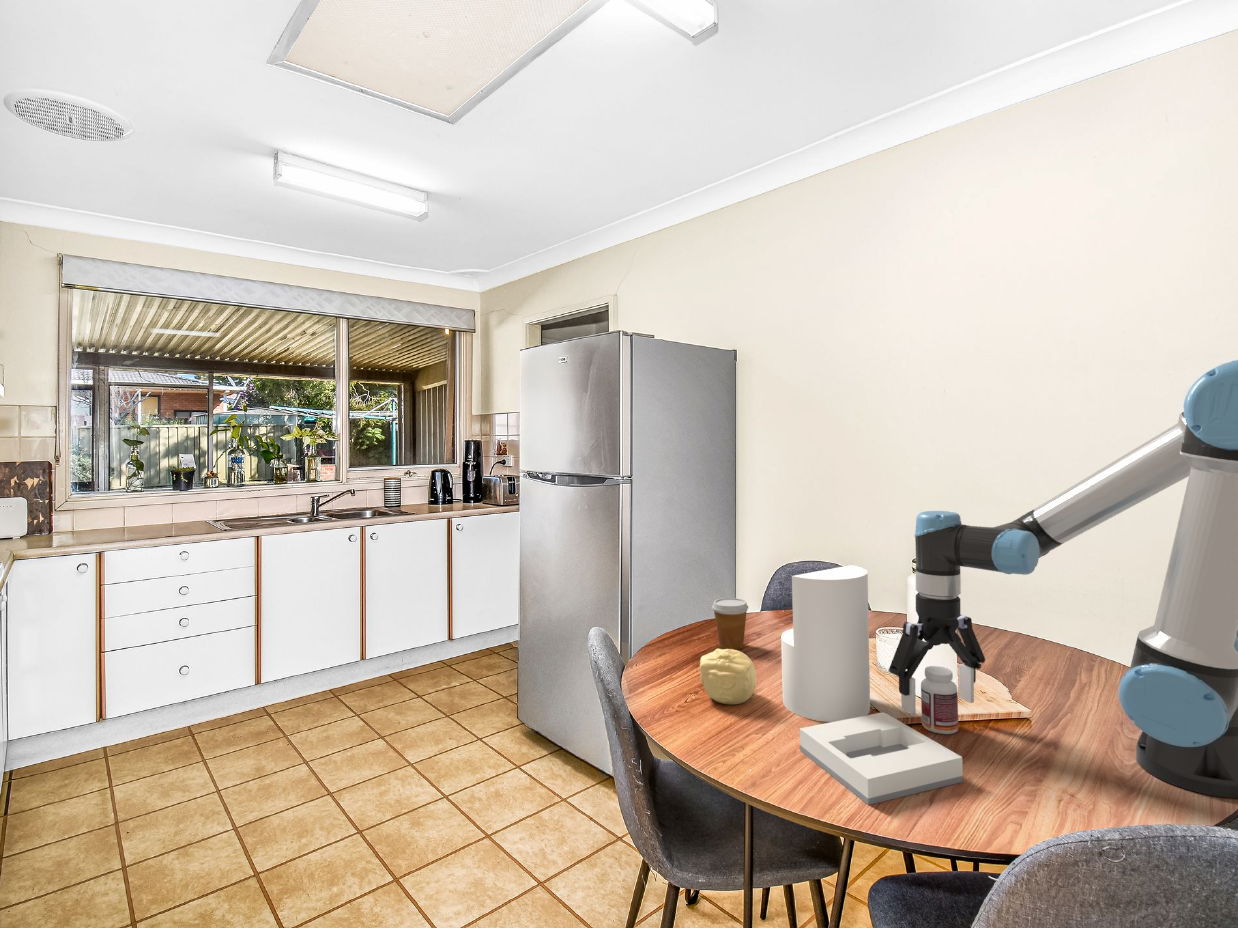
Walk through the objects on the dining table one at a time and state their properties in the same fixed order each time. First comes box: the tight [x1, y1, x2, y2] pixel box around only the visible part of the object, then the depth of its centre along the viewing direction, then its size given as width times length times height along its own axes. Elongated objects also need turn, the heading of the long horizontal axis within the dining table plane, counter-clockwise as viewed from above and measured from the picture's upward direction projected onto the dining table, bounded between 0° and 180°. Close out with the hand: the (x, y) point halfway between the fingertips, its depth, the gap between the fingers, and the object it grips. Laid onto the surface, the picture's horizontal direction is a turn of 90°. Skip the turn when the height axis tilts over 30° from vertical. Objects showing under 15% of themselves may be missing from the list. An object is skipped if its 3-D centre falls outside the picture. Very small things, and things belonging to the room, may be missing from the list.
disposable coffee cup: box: [712, 597, 749, 651], centre depth 170 cm, size 10×10×12 cm
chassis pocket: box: [799, 711, 964, 806], centre depth 107 cm, size 18×18×4 cm
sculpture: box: [699, 648, 758, 705], centre depth 137 cm, size 12×12×11 cm
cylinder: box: [780, 564, 871, 723], centre depth 132 cm, size 17×17×28 cm
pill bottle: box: [920, 665, 959, 735], centre depth 120 cm, size 6×6×11 cm
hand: (937, 705), depth 120 cm, fingers open, 13 cm apart
